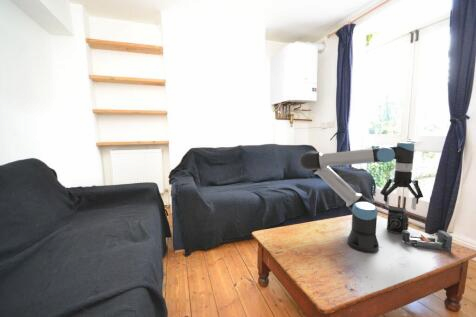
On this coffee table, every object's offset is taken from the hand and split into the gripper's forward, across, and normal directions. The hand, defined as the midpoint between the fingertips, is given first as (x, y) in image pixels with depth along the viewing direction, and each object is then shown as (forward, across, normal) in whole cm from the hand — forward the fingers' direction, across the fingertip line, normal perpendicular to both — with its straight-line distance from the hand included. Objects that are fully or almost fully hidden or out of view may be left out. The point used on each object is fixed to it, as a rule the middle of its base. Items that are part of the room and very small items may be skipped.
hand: (399, 208), depth 119 cm
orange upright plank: (+19, +13, 0) cm, 23 cm away
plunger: (+19, +7, 0) cm, 20 cm away
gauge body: (+20, +15, 0) cm, 25 cm away
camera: (+21, +6, +15) cm, 26 cm away
